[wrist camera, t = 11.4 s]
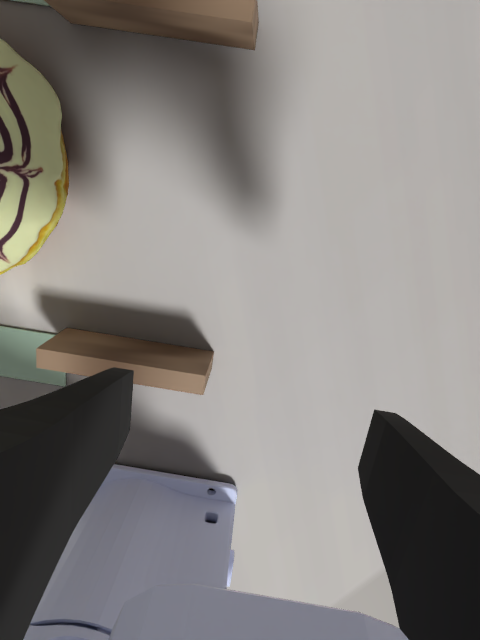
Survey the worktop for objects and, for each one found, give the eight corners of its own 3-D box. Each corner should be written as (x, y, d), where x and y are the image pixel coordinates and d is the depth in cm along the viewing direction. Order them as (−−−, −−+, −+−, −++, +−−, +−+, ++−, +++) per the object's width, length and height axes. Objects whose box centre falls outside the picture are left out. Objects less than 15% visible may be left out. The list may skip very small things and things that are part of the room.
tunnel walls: (258, 22, 17) (256, -12, 14) (211, 368, 22) (203, 395, 19) (71, -5, 17) (31, -44, 14) (66, 344, 22) (36, 367, 19)
